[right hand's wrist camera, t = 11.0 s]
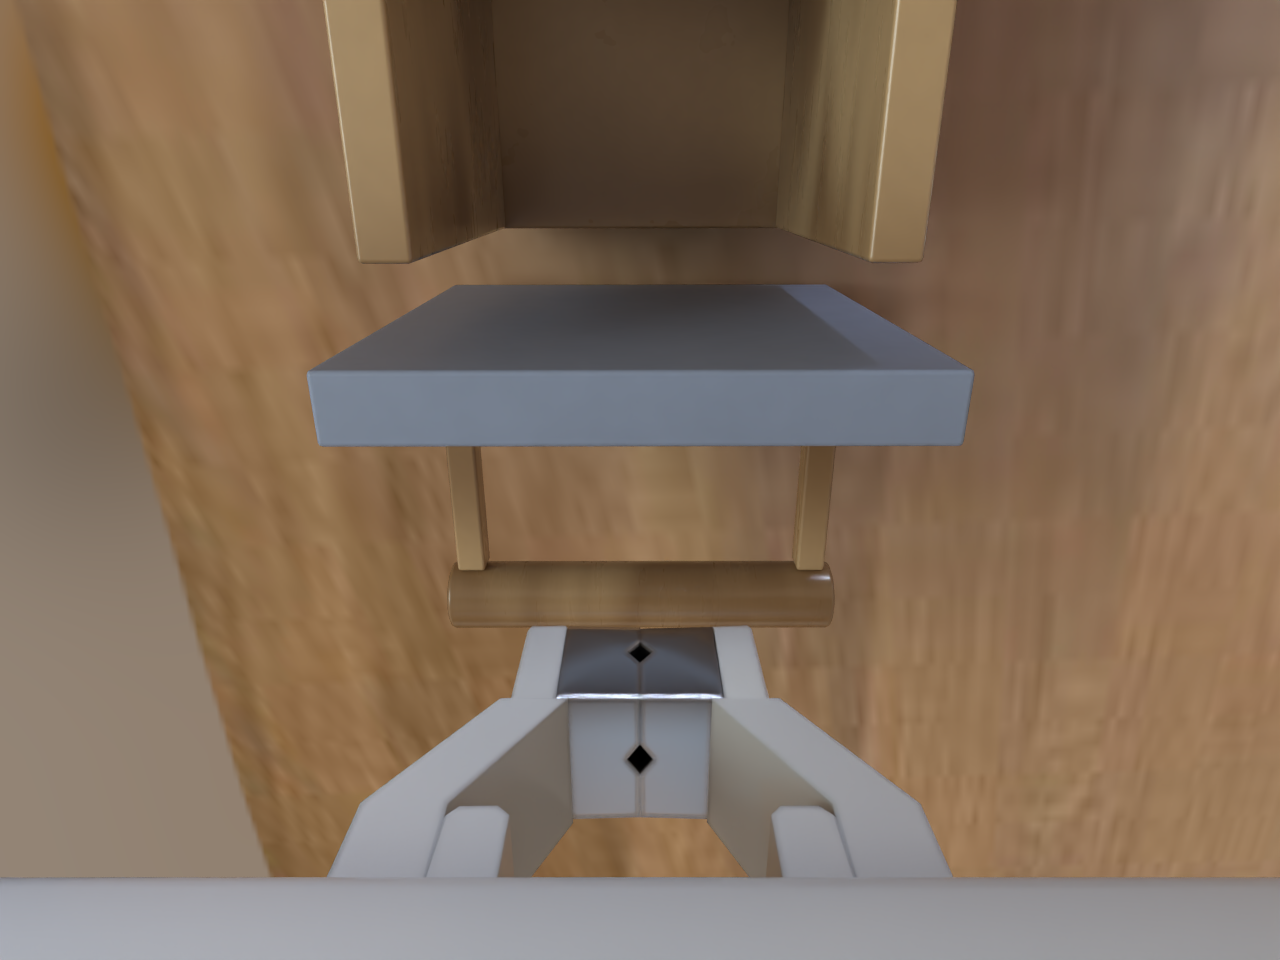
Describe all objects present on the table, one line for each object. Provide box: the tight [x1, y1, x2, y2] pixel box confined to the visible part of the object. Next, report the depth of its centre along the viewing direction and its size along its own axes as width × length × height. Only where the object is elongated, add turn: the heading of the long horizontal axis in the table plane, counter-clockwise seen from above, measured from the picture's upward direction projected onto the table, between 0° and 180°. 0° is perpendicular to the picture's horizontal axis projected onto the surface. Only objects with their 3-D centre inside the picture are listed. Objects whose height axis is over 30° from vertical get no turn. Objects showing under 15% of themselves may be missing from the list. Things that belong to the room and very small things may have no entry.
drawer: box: [307, 0, 974, 628], centre depth 14 cm, size 21×10×10 cm, turn 0°
